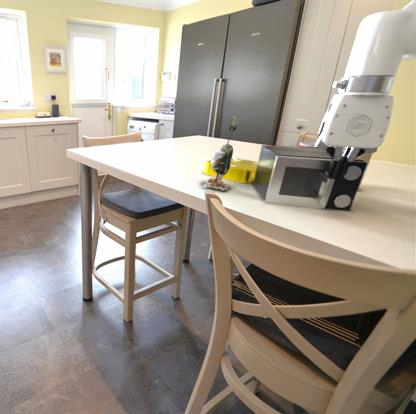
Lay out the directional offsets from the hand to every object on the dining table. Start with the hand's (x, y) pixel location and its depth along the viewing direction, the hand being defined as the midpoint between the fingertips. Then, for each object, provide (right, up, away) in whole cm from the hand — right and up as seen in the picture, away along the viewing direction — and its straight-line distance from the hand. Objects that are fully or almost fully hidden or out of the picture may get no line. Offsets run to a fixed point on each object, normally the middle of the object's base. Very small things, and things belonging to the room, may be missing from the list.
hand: (334, 177), depth 62 cm
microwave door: (-5, -7, +5) cm, 10 cm away
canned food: (+17, +4, +33) cm, 37 cm away
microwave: (+1, -4, +13) cm, 14 cm away
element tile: (-7, +4, +33) cm, 34 cm away
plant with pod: (-18, -1, +21) cm, 28 cm away
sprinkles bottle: (+21, -1, +21) cm, 30 cm away
